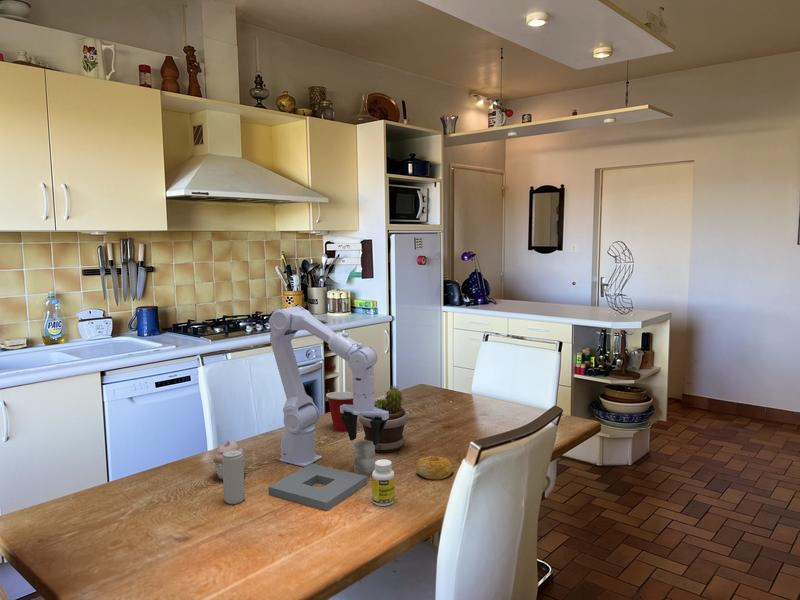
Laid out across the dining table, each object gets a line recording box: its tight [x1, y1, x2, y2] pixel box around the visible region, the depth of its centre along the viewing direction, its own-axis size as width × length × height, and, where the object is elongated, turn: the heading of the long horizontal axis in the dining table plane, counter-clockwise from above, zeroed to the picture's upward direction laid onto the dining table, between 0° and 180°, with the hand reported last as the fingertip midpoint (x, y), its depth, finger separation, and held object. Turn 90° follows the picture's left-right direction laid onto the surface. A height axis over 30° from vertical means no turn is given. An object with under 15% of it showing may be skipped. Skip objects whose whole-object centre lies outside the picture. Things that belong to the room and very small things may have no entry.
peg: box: [353, 438, 376, 476], centre depth 155 cm, size 4×4×8 cm
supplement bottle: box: [371, 459, 396, 507], centre depth 137 cm, size 5×5×10 cm
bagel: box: [415, 455, 454, 481], centre depth 154 cm, size 10×11×5 cm
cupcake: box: [211, 440, 249, 481], centre depth 153 cm, size 9×9×10 cm
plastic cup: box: [325, 391, 353, 433], centre depth 190 cm, size 11×11×12 cm
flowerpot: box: [358, 384, 409, 453], centre depth 173 cm, size 14×15×20 cm
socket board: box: [268, 462, 368, 512], centre depth 145 cm, size 18×17×2 cm
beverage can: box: [222, 449, 246, 505], centre depth 138 cm, size 5×5×12 cm
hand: (364, 441), depth 155 cm, fingers open, 7 cm apart
